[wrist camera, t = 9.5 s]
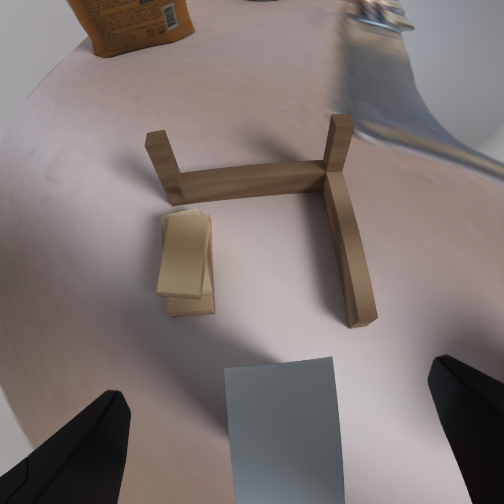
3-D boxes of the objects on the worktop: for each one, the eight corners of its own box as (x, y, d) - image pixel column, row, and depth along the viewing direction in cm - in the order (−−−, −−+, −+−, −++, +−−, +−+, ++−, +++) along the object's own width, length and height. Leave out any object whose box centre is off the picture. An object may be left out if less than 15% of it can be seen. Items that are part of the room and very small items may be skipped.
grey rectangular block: (305, 448, 17) (345, 507, 7) (253, 453, 17) (237, 519, 7) (298, 373, 19) (332, 356, 9) (247, 378, 19) (223, 367, 9)
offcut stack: (218, 313, 21) (210, 301, 18) (167, 316, 21) (152, 305, 18) (214, 220, 24) (207, 198, 21) (168, 225, 24) (156, 204, 21)
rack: (366, 325, 20) (407, 295, 13) (170, 345, 20) (127, 323, 14) (333, 178, 25) (349, 114, 18) (173, 193, 25) (147, 132, 19)
